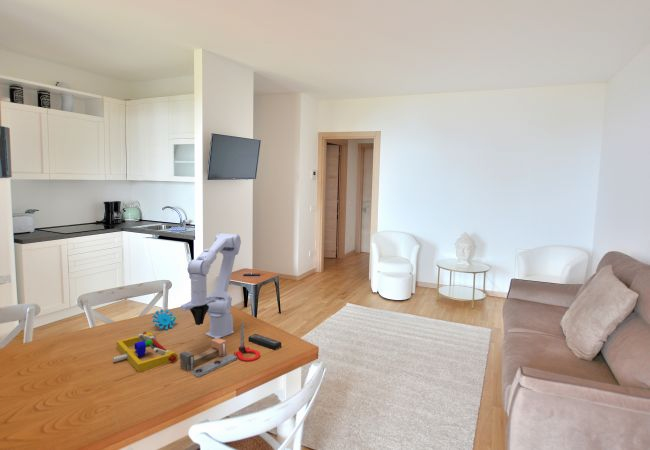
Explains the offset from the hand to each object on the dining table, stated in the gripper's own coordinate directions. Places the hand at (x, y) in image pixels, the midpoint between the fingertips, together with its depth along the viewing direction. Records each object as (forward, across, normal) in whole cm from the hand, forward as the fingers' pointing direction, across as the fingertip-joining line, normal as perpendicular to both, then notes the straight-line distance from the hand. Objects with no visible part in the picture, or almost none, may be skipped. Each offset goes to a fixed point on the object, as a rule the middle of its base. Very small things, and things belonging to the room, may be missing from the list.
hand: (199, 324), depth 155 cm
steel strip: (+10, +5, +16) cm, 19 cm away
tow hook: (+11, -8, +19) cm, 23 cm away
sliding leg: (+10, -2, +9) cm, 14 cm away
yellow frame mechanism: (+11, +17, -14) cm, 25 cm away
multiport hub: (+11, -20, +16) cm, 28 cm away
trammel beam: (+10, +5, +9) cm, 15 cm away
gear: (+11, -4, -30) cm, 32 cm away
